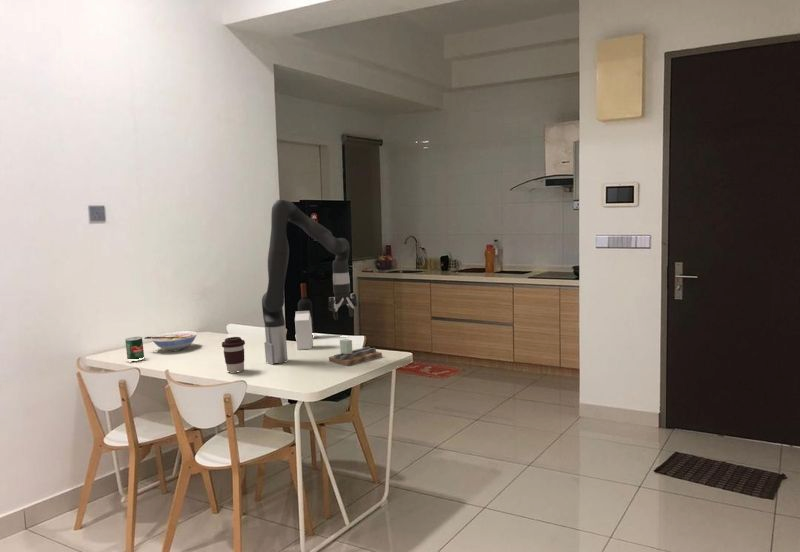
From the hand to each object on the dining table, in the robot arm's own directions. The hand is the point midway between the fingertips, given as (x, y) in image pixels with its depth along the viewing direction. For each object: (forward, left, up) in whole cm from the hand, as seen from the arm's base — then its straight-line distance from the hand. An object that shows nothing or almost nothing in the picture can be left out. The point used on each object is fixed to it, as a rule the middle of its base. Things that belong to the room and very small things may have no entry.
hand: (343, 318), depth 287 cm
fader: (0, 0, -18) cm, 18 cm away
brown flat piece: (+5, 0, -20) cm, 21 cm away
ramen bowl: (-39, +98, -20) cm, 107 cm away
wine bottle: (+18, +59, -20) cm, 65 cm away
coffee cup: (-41, +28, -20) cm, 53 cm away
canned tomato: (-62, +92, -20) cm, 113 cm away
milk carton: (+4, +40, -20) cm, 45 cm away
